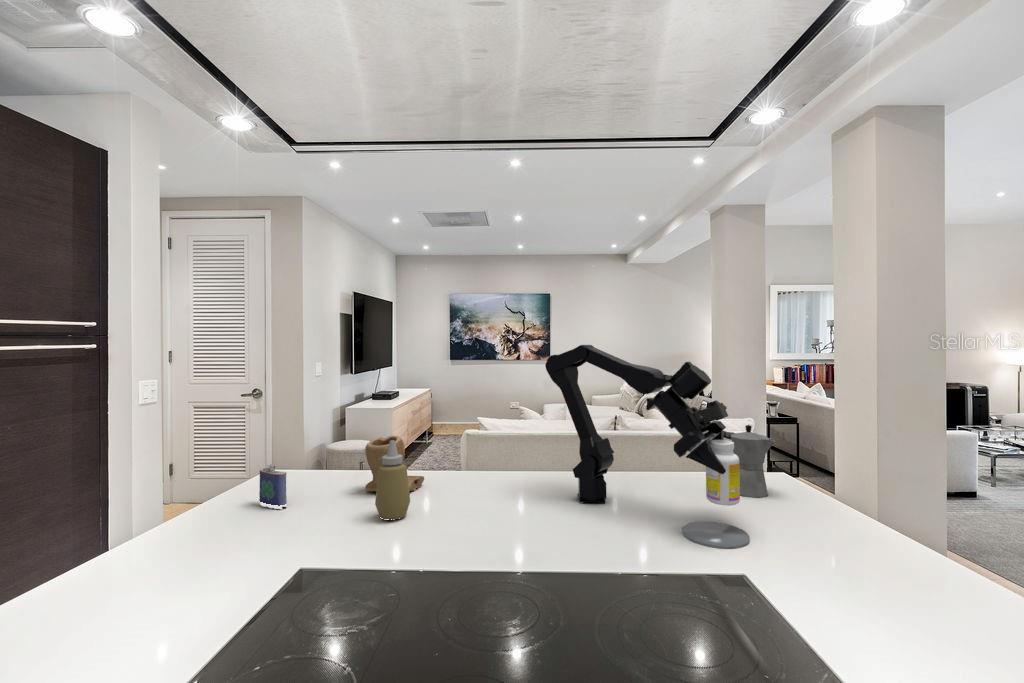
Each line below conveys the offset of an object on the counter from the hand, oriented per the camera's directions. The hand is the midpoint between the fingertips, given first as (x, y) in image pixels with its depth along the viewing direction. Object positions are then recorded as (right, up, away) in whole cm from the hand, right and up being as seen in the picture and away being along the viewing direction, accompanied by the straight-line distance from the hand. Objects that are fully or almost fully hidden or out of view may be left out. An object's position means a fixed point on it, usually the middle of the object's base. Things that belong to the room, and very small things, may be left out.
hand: (729, 469), depth 102 cm
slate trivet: (-4, -13, -2) cm, 14 cm away
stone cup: (-80, -14, +31) cm, 86 cm away
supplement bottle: (-1, -7, +1) cm, 7 cm away
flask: (-107, -15, +19) cm, 110 cm away
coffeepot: (+16, -13, +27) cm, 34 cm away
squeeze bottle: (-74, -14, +10) cm, 76 cm away
